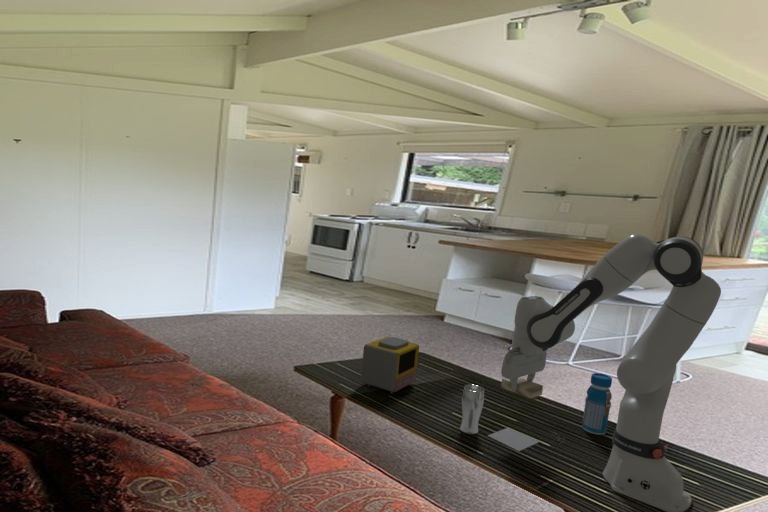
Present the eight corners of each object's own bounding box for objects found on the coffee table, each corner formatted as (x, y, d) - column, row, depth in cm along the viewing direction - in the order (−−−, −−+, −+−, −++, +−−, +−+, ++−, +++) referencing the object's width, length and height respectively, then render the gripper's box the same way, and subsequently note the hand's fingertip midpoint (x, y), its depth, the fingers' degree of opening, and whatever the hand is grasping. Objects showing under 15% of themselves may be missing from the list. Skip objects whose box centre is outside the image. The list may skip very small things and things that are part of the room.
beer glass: (479, 437, 166) (485, 393, 165) (457, 433, 168) (463, 389, 166) (479, 429, 173) (485, 386, 172) (458, 425, 174) (464, 382, 173)
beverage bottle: (586, 434, 178) (594, 378, 176) (577, 423, 186) (585, 370, 184) (610, 436, 178) (619, 381, 176) (600, 426, 186) (609, 373, 184)
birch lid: (541, 394, 163) (542, 385, 163) (530, 398, 159) (531, 389, 159) (512, 384, 171) (513, 375, 171) (501, 387, 167) (501, 378, 167)
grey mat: (539, 443, 167) (539, 441, 167) (518, 452, 159) (519, 451, 159) (508, 429, 176) (508, 427, 175) (487, 437, 167) (487, 435, 167)
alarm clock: (393, 398, 193) (398, 350, 191) (358, 386, 201) (363, 341, 199) (417, 384, 210) (422, 341, 208) (384, 374, 218) (388, 332, 216)
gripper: (516, 352, 154) (511, 396, 156) (551, 344, 168) (546, 385, 169) (498, 347, 159) (494, 390, 160) (534, 340, 173) (529, 379, 174)
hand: (521, 387), depth 165 cm, fingers closed on birch lid, 7 cm apart
